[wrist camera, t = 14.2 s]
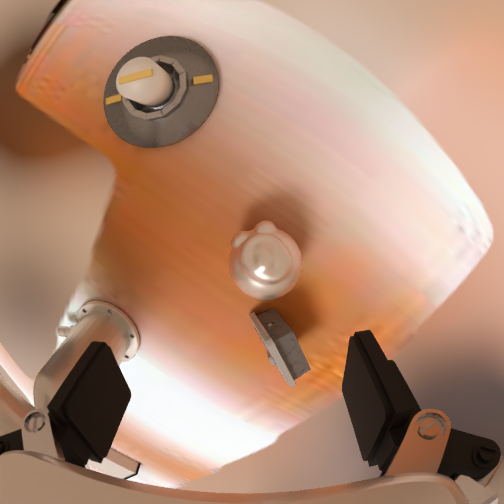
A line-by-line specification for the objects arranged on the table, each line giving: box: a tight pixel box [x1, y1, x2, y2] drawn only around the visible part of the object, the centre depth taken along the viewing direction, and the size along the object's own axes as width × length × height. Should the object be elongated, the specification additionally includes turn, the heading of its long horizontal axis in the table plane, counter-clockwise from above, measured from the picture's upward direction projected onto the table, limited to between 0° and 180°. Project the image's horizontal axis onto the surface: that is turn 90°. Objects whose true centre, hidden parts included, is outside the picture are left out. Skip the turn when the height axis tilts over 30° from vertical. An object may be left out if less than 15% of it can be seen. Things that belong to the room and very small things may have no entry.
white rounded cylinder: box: [116, 57, 175, 108], centre depth 26 cm, size 5×5×8 cm
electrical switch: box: [249, 308, 311, 387], centre depth 38 cm, size 9×5×9 cm, turn 24°
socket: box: [104, 36, 219, 148], centre depth 30 cm, size 16×16×2 cm
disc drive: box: [88, 448, 141, 480], centre depth 59 cm, size 18×22×5 cm
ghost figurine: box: [229, 221, 302, 300], centre depth 33 cm, size 9×10×10 cm
